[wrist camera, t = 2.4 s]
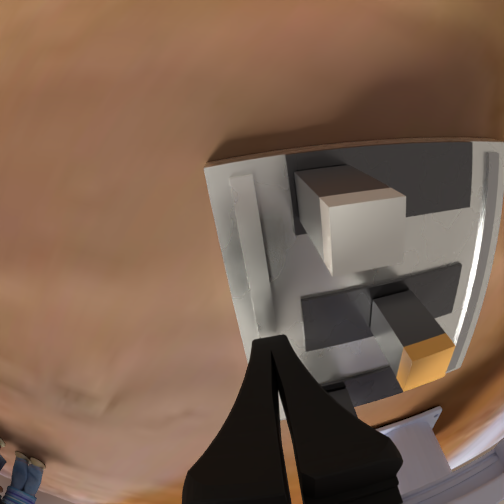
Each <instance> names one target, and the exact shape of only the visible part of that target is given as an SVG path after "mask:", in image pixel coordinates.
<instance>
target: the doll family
mask: <svg viewBox="0 0 504 504" xmlns="http://www.w3.org/2000/svg"><path fill="white" fill-rule="evenodd" d="M4 446H5V444H4V442H3V441H2V439H1V438H0V448H1V447H4ZM15 455H16V460H15V463H14V466H13V472H12V481H11V485H10V486H8V487H7V491H6V493H5V496H4V497H3V498H2V500H1V497H2V496H1V495H0V504H35V501H36V499H37V498H36V497H35V494H36V492H37V490H38V488H39V486H40V483H41V479H42V474H43V471H44V469H45V466H44V464H43V463H42V462H40V461H39V460H37V459H35V458H32V457H31V458H30V460H29V459H28V458H27V457H26V456H25V455H23V454H22V453H20V452H17V451H16V452H15ZM5 463H6V460H5V459H4V458H3V457H2V456H1V455H0V470H1V469H2V467H3V466H4V465H5ZM30 463H31V464H30ZM28 464H29V466H28ZM1 492H3V488H2V487H1V486H0V493H1Z"/></svg>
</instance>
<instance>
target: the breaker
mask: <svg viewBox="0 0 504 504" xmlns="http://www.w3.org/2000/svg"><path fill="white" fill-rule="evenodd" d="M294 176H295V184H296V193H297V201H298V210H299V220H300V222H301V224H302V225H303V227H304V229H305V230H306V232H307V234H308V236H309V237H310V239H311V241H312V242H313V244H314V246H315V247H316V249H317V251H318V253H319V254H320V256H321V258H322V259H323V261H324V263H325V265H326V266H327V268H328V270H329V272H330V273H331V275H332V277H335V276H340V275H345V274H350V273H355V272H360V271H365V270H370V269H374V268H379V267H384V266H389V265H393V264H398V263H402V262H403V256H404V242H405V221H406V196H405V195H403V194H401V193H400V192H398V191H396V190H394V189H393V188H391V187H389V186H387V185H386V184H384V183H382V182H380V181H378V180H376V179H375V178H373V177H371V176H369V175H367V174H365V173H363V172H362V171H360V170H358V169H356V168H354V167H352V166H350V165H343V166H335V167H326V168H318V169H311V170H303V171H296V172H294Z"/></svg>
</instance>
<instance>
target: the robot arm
mask: <svg viewBox="0 0 504 504" xmlns="http://www.w3.org/2000/svg"><path fill="white" fill-rule="evenodd" d="M278 392H279V394H278ZM279 395H280V399H281V402H282V406H283V409H284V413H285V417H286V420H287V424H288V427H289V431H290V434H291V439H292V443H293V449H294V454H295V460H296V466H297V472H298V477H299V483H300V489H301V495H302V501H303V504H497V503H499V502H500V501H502V500H503V499H504V438H503V439H502V440H501V441H500V442H499V443H498V444H497V445H496V447H495V448H494V449H493V450H491V451H490V452H488V453H486V454H485V455H483V456H481V457H480V458H478V459H476V460H474V461H473V462H471V463H469V464H467V465H465V466H463V467H462V468H460V469H458V470H456V471H454V472H452V471H451V468H450V466H449V464H448V462H447V460H446V458H445V455H444V453H443V451H442V449H441V447H440V445H439V443H438V441H437V439H436V437H435V434H434V432H433V430H432V428H433V427H434V425H435V423H436V421H437V419H438V417H439V415H440V414H441V412H442V408H441V406H438V407H436V408H433V409H431V410H428V411H426V412H423V413H421V414H418V415H415V416H413V417H410V418H407V419H405V420H402V421H399V422H396V423H393V424H390V425H387V426H384V427H381V428H378V429H374V428H372V427H370V426H369V425H367V424H366V423H364V422H363V421H361V420H360V419H358V418H357V417H356V416H354V415H353V414H352V413H350V412H349V411H348V410H346V409H345V408H344V407H343V406H341V405H340V404H339V403H338V402H337V401H336V400H335V399H334V398H333V397H332V396H330V395H329V394H328V393H327V392H326V391H325V390H324V389H323V387H322V386H321V385H320V384H319V383H318V382H317V381H316V380H315V378H314V377H313V376H312V375H311V374H310V372H309V371H308V370H307V369H306V367H305V366H304V364H303V363H302V362H301V360H300V359H299V357H298V356H297V354H296V353H295V351H294V350H293V348H292V346H291V344H290V342H289V340H288V338H287V336H286V335H285V334H282V335H276V336H271V337H265V338H259V339H254V340H253V341H252V347H251V354H250V359H249V363H248V367H247V370H246V374H245V377H244V380H243V383H242V386H241V389H240V391H239V394H238V396H237V399H236V401H235V403H234V405H233V408H232V410H231V412H230V414H229V416H228V417H227V419H226V421H225V423H224V424H223V426H222V428H221V430H220V431H219V433H218V434H217V436H216V437H215V439H214V440H213V441H212V443H211V444H210V446H209V447H208V448H207V450H206V451H205V452H204V454H203V455H202V456H201V457H200V458H199V460H198V461H197V462H196V463H195V464H194V465H193V466H192V467H191V469H190V470H189V471H188V472H187V475H186V479H185V482H184V486H183V492H182V504H291V498H290V492H289V485H288V479H287V473H286V467H285V461H284V455H283V448H282V441H281V428H280V411H279Z"/></svg>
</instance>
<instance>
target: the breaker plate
mask: <svg viewBox="0 0 504 504" xmlns="http://www.w3.org/2000/svg"><path fill="white" fill-rule="evenodd" d="M343 165H350V166H352V167H354V168H356V169H358V170H360V171H362V172H363V173H365V174H367V175H369V176H371V177H373V178H375V179H376V180H378V181H380V182H382V183H384V184H386V185H387V186H389V187H391V188H393V189H394V190H396V191H398V192H400V193H401V194H403V195H405V196H406V221H405V242H404V256H403V262H402V263H398V264H393V265H389V266H384V267H379V268H374V269H370V270H365V271H360V272H355V273H350V274H345V275H340V276H335V277H332V275H331V273H330V272H329V270H328V268H327V266H326V265H325V263H324V261H323V259H322V258H321V256H320V254H319V253H318V251H317V249H316V247H315V246H314V244H313V242H312V241H311V239H310V237H309V236H308V234H307V232H306V230H305V229H304V227H303V225H302V224H301V222H300V220H299V210H298V201H297V193H296V184H295V176H294V172H296V171H303V170H311V169H318V168H326V167H335V166H343ZM204 172H205V177H206V182H207V187H208V192H209V196H210V201H211V206H212V211H213V215H214V220H215V225H216V229H217V234H218V238H219V243H220V247H221V252H222V256H223V261H224V265H225V270H226V274H227V278H228V283H229V287H230V291H231V295H232V300H233V304H234V308H235V312H236V317H237V321H238V325H239V329H240V333H241V337H242V341H243V345H244V349H245V353H246V357H247V361H248V363H249V359H250V354H251V347H252V341H253V340H254V339H259V338H265V337H271V336H276V335H282V334H285V335H286V336H287V338H288V340H289V342H290V344H291V346H292V348H293V350H294V351H295V353H296V354H297V356H298V357H299V359H300V360H301V362H302V363H303V364H304V366H305V367H306V369H307V370H308V371H309V372H310V374H311V375H312V376H313V377H314V378H315V380H316V381H317V382H318V383H319V384H320V385H321V386H322V387H323V389H324V390H325V391H326V392H327V393H329V392H334V391H338V390H342V389H346V388H347V390H348V393H349V395H350V398H351V401H352V404H353V406H354V407H356V406H359V405H363V404H367V403H370V402H373V401H377V400H380V399H383V398H387V397H390V396H393V395H396V394H399V393H402V392H403V390H402V388H401V386H400V384H399V382H398V380H397V378H396V376H395V374H394V372H393V371H392V369H391V367H390V365H389V363H388V361H387V359H386V357H385V356H384V354H383V352H382V350H381V348H380V346H379V345H378V343H377V341H376V339H375V337H374V336H373V334H372V332H371V330H370V328H371V317H372V305H373V299H377V298H381V297H385V296H389V295H393V294H397V293H401V292H405V291H409V290H411V291H412V292H413V293H414V294H415V296H416V297H417V298H418V299H419V300H420V302H421V303H422V304H423V305H424V306H425V308H426V309H427V310H428V311H429V312H430V314H431V315H432V316H433V317H434V319H435V320H436V321H437V322H438V324H439V325H440V326H441V327H442V329H443V330H444V331H445V333H446V334H447V335H448V336H449V338H450V339H451V340H452V342H453V343H454V344H455V349H454V352H453V355H452V358H451V360H450V363H449V366H448V368H447V371H446V373H448V372H451V371H453V370H455V369H458V368H460V367H461V364H462V362H463V359H464V357H465V354H466V352H467V349H468V346H469V344H470V341H471V338H472V335H473V332H474V329H475V326H476V323H477V320H478V317H479V314H480V310H481V307H482V304H483V300H484V297H485V293H486V289H487V285H488V281H489V277H490V273H491V269H492V264H493V259H494V254H495V249H496V244H497V238H498V232H499V226H500V219H501V211H502V203H503V193H504V142H503V141H499V140H496V139H492V138H471V137H433V138H401V139H383V140H368V141H355V142H344V143H334V144H324V145H315V146H307V147H299V148H291V149H284V150H276V151H270V152H263V153H257V154H251V155H245V156H239V157H233V158H227V159H222V160H217V161H211V162H206V164H205V166H204ZM446 373H445V374H446ZM426 384H427V383H426ZM421 386H422V385H421ZM418 387H419V386H418ZM407 391H408V390H407ZM404 392H405V391H404ZM278 394H279V392H278ZM279 411H280V420H285V419H286V417H285V413H284V409H283V406H282V402H281V399H280V395H279Z"/></svg>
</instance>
